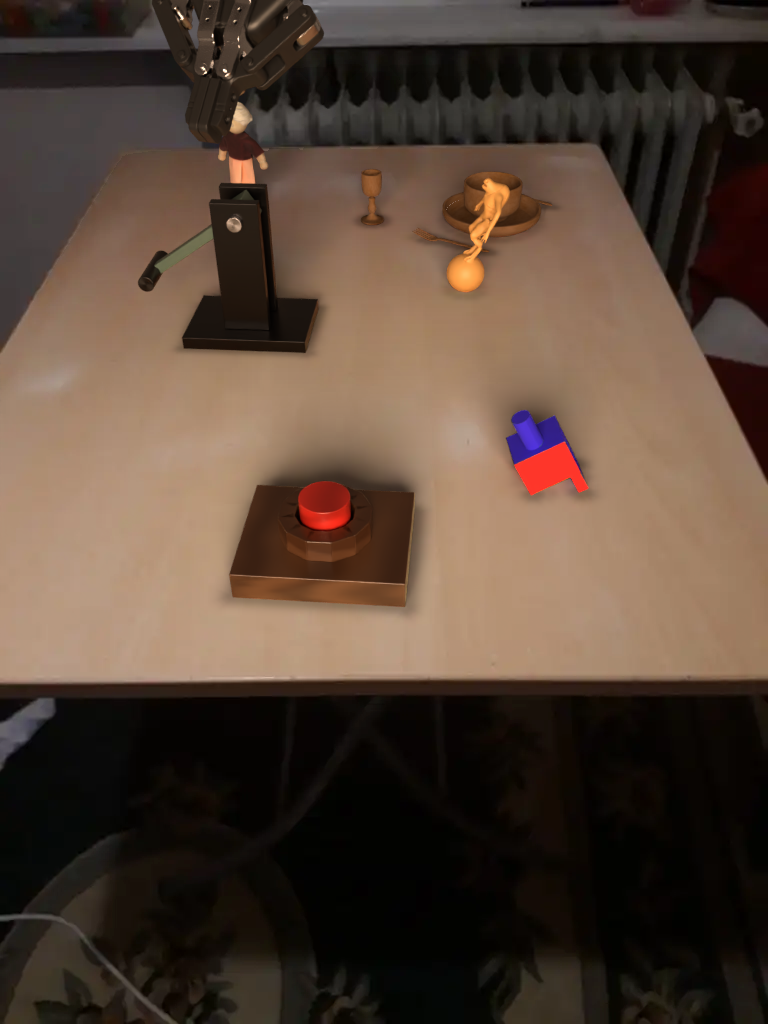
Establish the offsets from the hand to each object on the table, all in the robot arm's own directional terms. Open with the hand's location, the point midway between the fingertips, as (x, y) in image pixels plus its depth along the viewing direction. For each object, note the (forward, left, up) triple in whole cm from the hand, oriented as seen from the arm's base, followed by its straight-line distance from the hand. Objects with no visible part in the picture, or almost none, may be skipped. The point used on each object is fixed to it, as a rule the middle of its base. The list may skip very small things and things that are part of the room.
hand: (203, 137), depth 65 cm
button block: (+9, -15, -25) cm, 30 cm away
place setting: (+17, +49, -25) cm, 57 cm away
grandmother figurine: (-10, +49, -25) cm, 56 cm away
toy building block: (+25, -5, -25) cm, 36 cm away
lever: (-6, +18, -17) cm, 26 cm away
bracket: (-3, +18, -25) cm, 31 cm away
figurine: (+19, +28, -25) cm, 43 cm away
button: (+9, -15, -21) cm, 27 cm away
